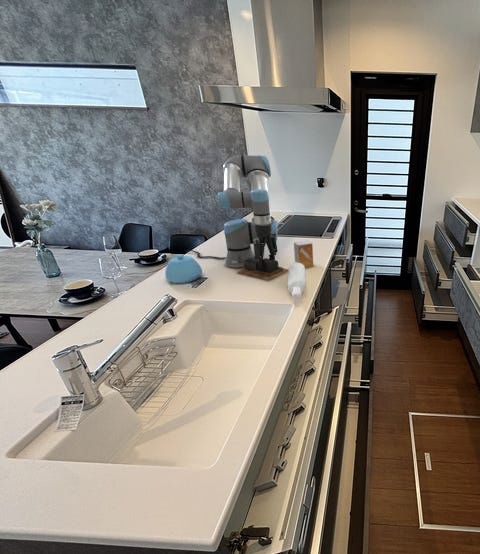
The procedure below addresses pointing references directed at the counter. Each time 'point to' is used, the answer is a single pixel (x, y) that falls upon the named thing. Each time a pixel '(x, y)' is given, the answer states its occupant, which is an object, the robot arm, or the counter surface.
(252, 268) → the board
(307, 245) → the small box
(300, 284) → the bottle
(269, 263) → the black rectangular block
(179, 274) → the sugar bowl
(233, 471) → the counter surface
